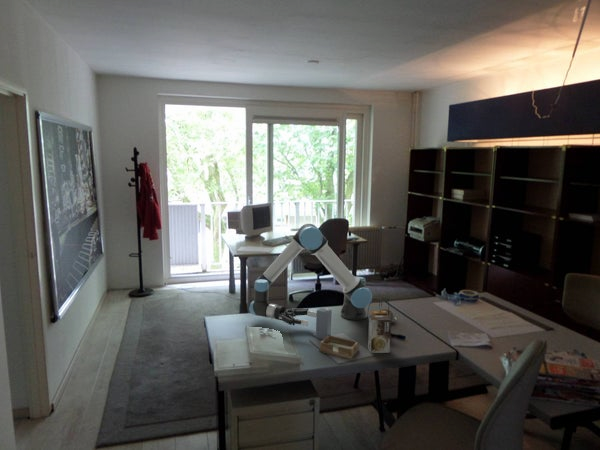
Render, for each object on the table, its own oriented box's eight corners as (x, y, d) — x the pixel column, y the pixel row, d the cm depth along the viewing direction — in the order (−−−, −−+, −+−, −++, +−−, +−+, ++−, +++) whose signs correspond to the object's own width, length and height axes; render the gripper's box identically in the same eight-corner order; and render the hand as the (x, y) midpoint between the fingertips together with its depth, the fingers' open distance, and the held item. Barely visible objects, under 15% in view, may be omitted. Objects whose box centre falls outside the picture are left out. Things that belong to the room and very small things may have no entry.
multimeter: (373, 344, 204) (375, 304, 202) (364, 336, 214) (366, 298, 211) (400, 342, 208) (402, 302, 206) (390, 334, 218) (392, 297, 215)
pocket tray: (327, 343, 203) (328, 335, 203) (358, 350, 197) (358, 341, 196) (319, 351, 194) (319, 342, 194) (351, 358, 187) (351, 349, 187)
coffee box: (386, 347, 201) (388, 314, 199) (389, 353, 194) (391, 319, 192) (367, 347, 200) (369, 314, 198) (370, 353, 194) (372, 319, 192)
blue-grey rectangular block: (316, 333, 216) (317, 305, 214) (334, 337, 212) (335, 308, 210) (312, 336, 212) (313, 308, 210) (330, 340, 207) (331, 311, 206)
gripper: (287, 312, 234) (322, 318, 224) (264, 326, 211) (302, 334, 202) (288, 299, 233) (323, 305, 223) (264, 311, 210) (302, 319, 201)
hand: (313, 319), depth 213 cm, fingers open, 13 cm apart
